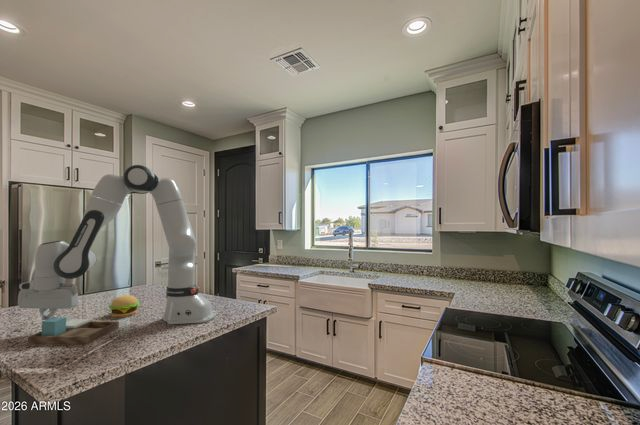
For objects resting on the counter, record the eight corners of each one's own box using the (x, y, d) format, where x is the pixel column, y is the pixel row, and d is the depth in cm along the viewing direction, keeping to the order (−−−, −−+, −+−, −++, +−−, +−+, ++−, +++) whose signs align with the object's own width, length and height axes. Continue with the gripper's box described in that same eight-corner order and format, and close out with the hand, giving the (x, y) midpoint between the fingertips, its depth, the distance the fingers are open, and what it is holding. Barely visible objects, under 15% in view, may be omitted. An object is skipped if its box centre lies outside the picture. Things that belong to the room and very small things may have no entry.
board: (118, 330, 115) (118, 321, 115) (86, 347, 99) (86, 337, 99) (67, 329, 114) (68, 321, 115) (27, 347, 98) (27, 336, 99)
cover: (90, 321, 114) (90, 314, 114) (74, 328, 107) (74, 320, 107) (69, 321, 114) (69, 314, 114) (52, 328, 107) (52, 320, 107)
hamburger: (101, 317, 130) (102, 298, 130) (124, 309, 141) (124, 292, 142) (124, 319, 128) (125, 299, 128) (145, 311, 139) (146, 293, 140)
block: (65, 336, 105) (66, 317, 105) (54, 342, 101) (55, 321, 101) (52, 336, 105) (53, 317, 105) (41, 341, 100) (42, 321, 101)
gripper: (83, 281, 114) (82, 317, 114) (31, 281, 114) (29, 316, 113) (70, 285, 108) (68, 322, 107) (14, 284, 108) (12, 322, 107)
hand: (47, 319), depth 110 cm, fingers closed
